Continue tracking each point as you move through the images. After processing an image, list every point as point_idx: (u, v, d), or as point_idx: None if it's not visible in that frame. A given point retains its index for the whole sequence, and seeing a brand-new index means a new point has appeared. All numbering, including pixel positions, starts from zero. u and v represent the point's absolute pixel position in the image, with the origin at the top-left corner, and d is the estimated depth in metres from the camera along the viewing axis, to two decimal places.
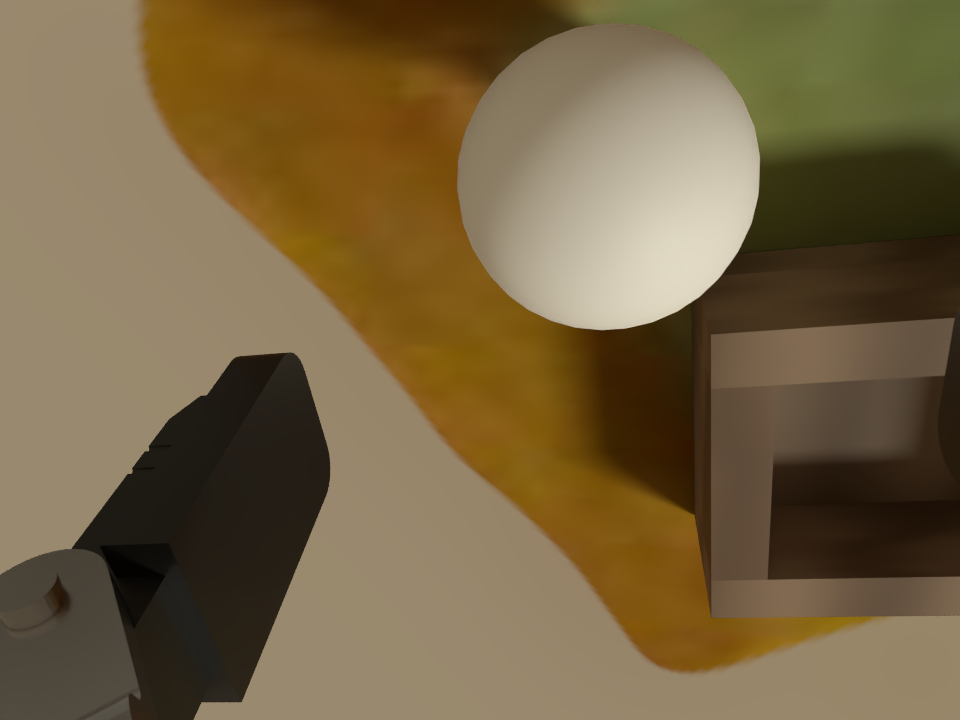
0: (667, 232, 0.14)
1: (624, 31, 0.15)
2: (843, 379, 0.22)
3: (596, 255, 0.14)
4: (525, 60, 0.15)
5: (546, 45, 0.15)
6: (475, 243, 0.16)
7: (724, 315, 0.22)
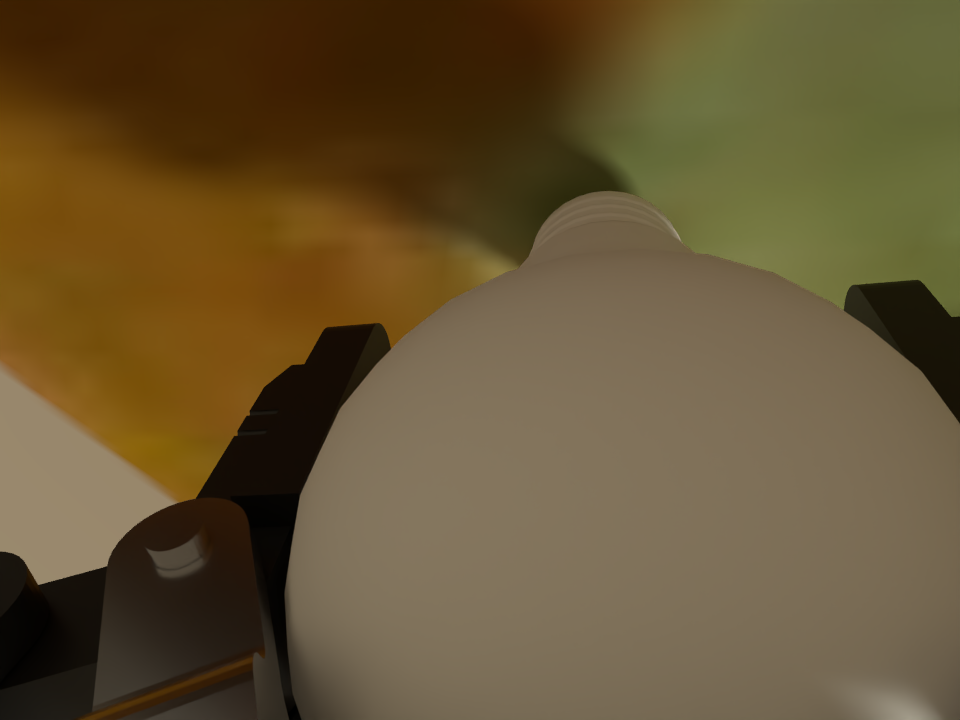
0: None
1: (689, 314, 0.05)
2: None
3: None
4: (429, 376, 0.06)
5: (482, 338, 0.06)
6: None
7: None
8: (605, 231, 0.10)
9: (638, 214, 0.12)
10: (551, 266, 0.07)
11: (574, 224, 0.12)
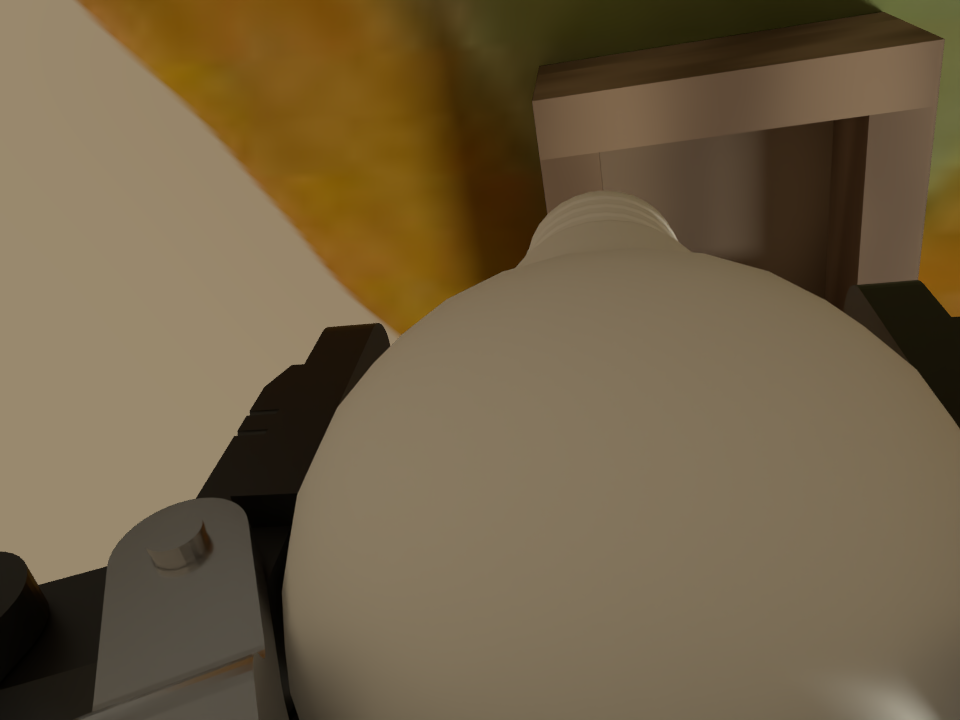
0: None
1: (686, 312, 0.05)
2: (658, 142, 0.23)
3: None
4: (425, 375, 0.06)
5: (478, 337, 0.06)
6: None
7: (549, 90, 0.24)
8: (602, 230, 0.10)
9: (635, 214, 0.12)
10: (547, 265, 0.07)
11: (571, 224, 0.12)
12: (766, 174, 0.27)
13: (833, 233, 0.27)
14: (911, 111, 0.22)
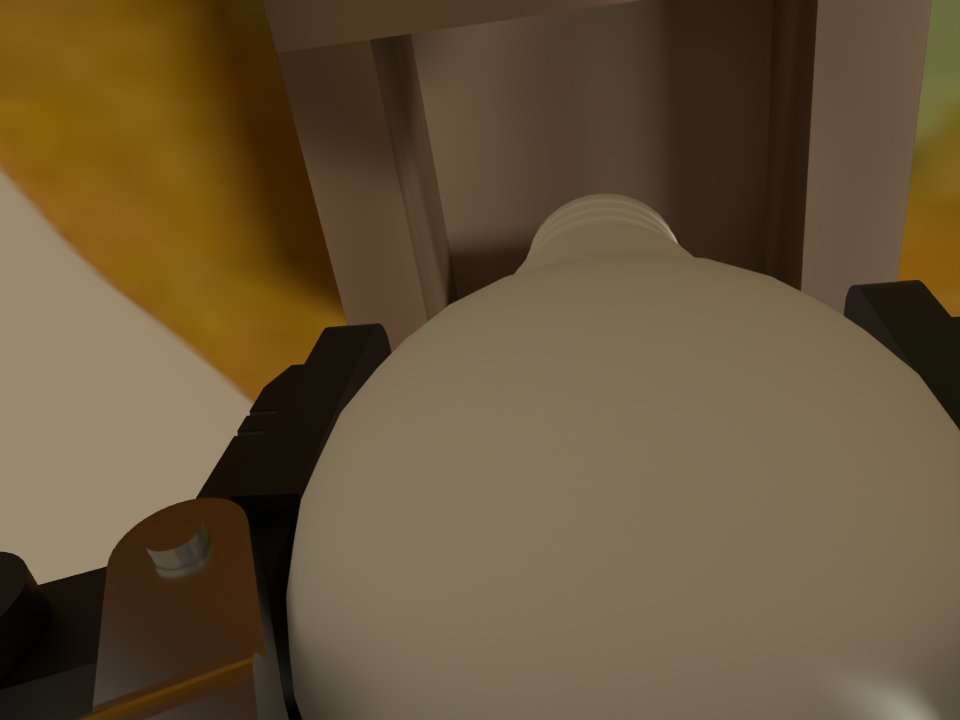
0: None
1: (689, 318, 0.05)
2: (465, 22, 0.14)
3: None
4: (431, 380, 0.06)
5: (483, 343, 0.06)
6: None
7: None
8: (603, 234, 0.10)
9: (635, 217, 0.12)
10: (551, 270, 0.07)
11: (571, 227, 0.12)
12: (671, 101, 0.17)
13: (772, 195, 0.18)
14: None
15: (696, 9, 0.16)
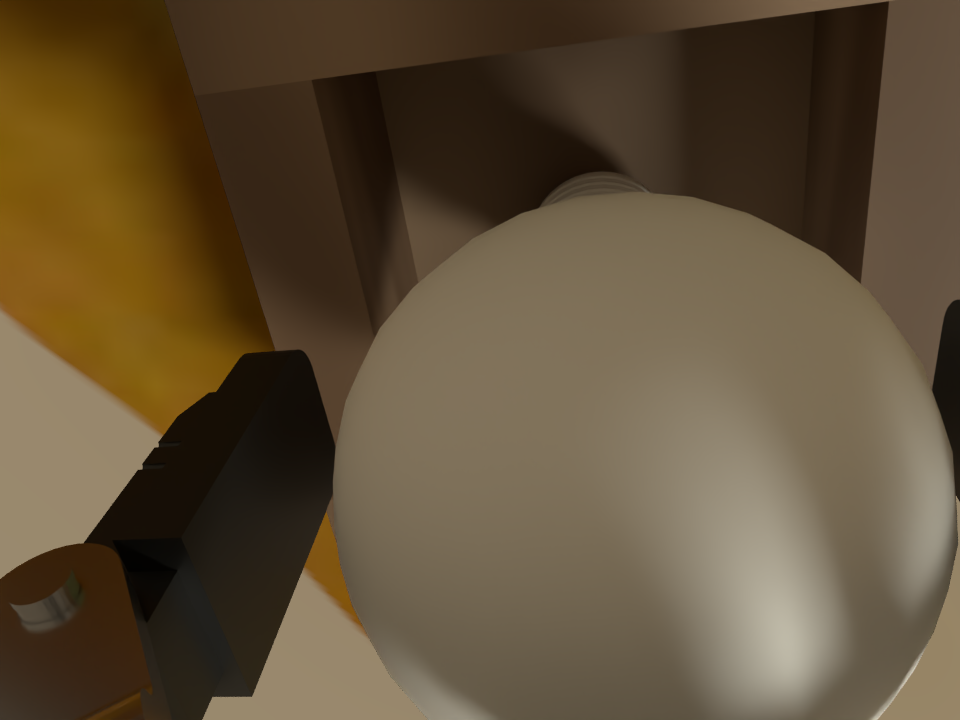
0: None
1: (678, 231, 0.07)
2: (431, 58, 0.11)
3: None
4: (463, 284, 0.07)
5: (507, 254, 0.07)
6: None
7: None
8: None
9: (630, 190, 0.13)
10: (561, 204, 0.08)
11: (572, 198, 0.13)
12: (687, 145, 0.14)
13: None
14: None
15: (720, 37, 0.13)
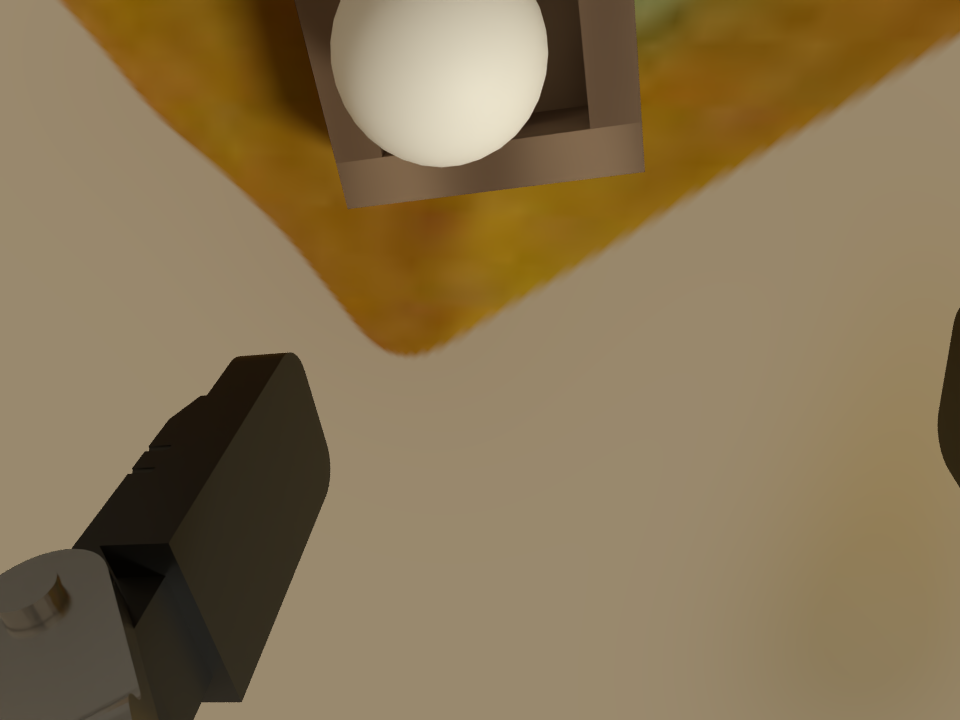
0: (460, 72, 0.20)
1: None
2: None
3: (412, 89, 0.20)
4: None
5: None
6: (341, 95, 0.22)
7: None
8: None
9: None
10: None
11: None
12: None
13: None
14: None
15: None
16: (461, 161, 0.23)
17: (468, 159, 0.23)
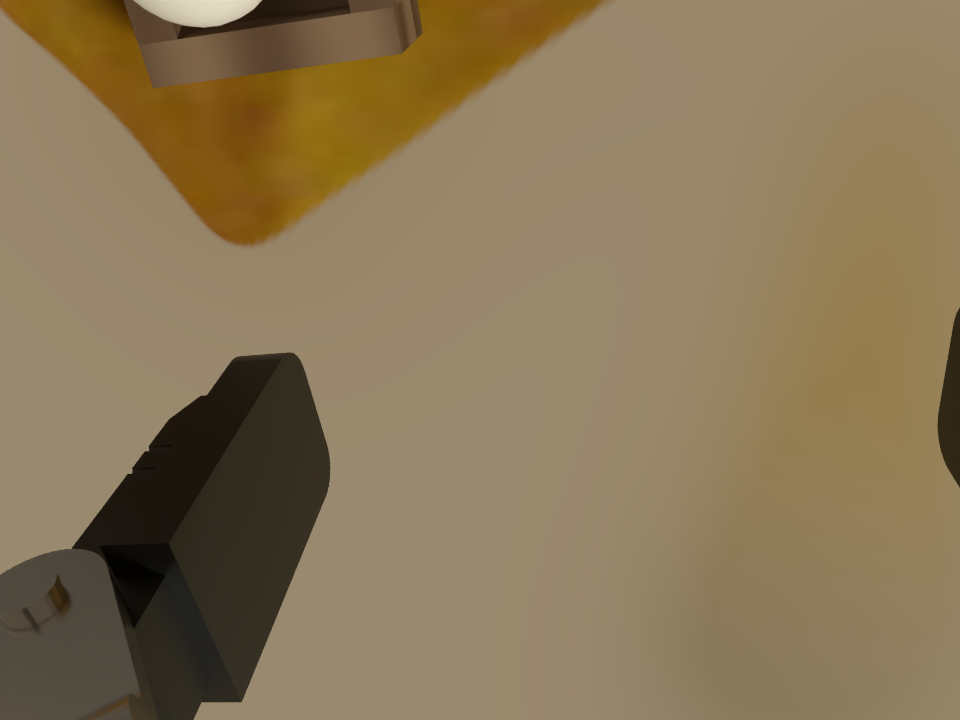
0: None
1: None
2: None
3: None
4: None
5: None
6: None
7: None
8: None
9: None
10: None
11: None
12: None
13: None
14: None
15: None
16: (208, 17, 0.27)
17: (214, 16, 0.27)
